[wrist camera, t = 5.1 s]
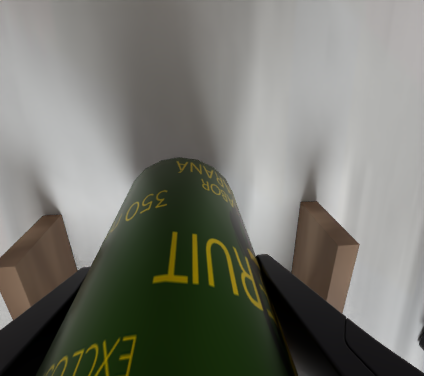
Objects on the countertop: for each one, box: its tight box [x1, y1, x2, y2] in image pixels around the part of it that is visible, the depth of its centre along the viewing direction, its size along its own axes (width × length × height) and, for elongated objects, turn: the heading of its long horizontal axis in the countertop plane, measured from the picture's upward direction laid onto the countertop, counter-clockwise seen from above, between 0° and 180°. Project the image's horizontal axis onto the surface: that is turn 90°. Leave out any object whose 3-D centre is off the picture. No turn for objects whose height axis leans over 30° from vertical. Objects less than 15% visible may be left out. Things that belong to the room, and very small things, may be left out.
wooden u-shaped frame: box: [0, 201, 360, 320], centre depth 16 cm, size 16×11×4 cm
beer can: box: [36, 158, 298, 376], centre depth 9 cm, size 5×5×12 cm
